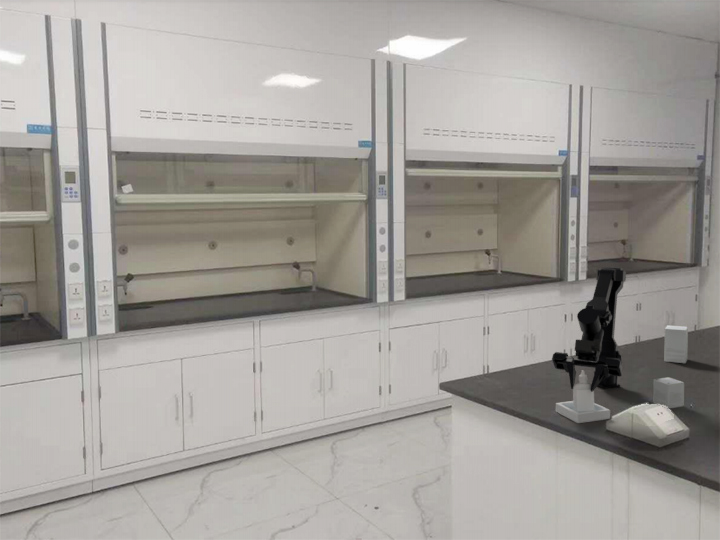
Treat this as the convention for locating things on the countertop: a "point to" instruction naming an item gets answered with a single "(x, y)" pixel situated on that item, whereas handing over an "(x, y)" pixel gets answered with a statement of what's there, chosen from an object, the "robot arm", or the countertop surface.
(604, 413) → the square tray
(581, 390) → the eye dropper bottle
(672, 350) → the supplement box
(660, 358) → the countertop surface
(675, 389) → the skincare box
